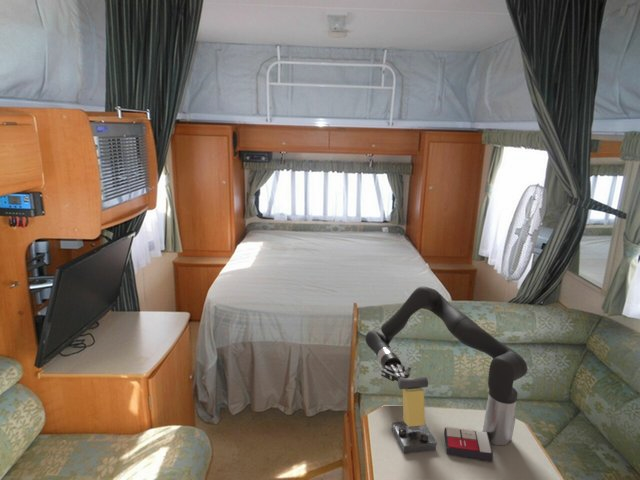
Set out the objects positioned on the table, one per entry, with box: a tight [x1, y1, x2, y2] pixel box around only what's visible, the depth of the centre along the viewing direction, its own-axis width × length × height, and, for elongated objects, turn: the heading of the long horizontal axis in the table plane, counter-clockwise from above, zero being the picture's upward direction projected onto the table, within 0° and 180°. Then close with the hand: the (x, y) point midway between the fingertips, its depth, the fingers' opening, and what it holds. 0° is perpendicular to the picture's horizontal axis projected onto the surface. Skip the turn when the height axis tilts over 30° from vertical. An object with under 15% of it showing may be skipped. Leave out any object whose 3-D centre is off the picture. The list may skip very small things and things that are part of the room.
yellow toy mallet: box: [397, 376, 429, 431], centre depth 152 cm, size 10×5×18 cm, turn 101°
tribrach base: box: [391, 421, 438, 454], centre depth 153 cm, size 12×12×4 cm
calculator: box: [443, 426, 494, 463], centre depth 150 cm, size 11×4×15 cm
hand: (404, 384), depth 161 cm, fingers closed
